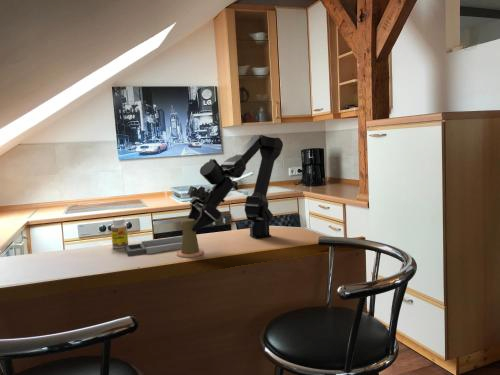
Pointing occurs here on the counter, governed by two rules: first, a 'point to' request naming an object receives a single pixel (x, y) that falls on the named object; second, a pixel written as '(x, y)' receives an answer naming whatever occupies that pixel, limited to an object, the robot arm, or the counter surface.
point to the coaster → (190, 254)
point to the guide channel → (163, 247)
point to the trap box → (135, 249)
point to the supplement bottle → (119, 233)
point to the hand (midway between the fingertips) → (188, 228)
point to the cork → (189, 237)
